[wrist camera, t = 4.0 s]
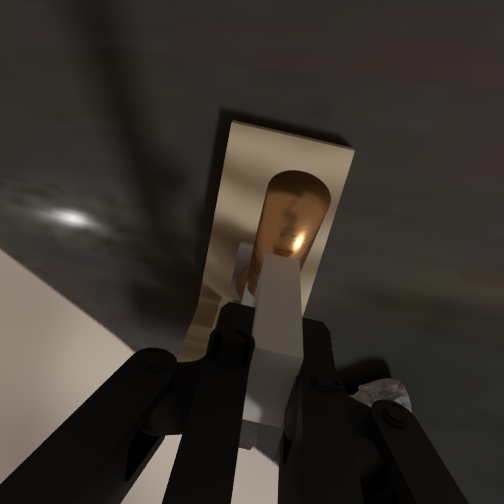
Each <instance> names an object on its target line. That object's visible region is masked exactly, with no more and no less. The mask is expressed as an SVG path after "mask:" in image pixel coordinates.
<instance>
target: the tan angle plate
mask: <svg viewBox="0 0 504 504" xmlns="http://www.w3.org/2000/svg"><path fill="white" fill-rule="evenodd" d="M354 152H355V150H354V149H353V148H351V147H347V146H343V145H339V144H334V143H330V142H326V141H322V140H317V139H313V138H309V137H304V136H300V135H296V134H292V133H287V132H283V131H279V130H274V129H270V128H266V127H262V126H257V125H253V124H249V123H245V122H240V121H236V120H233V121H232V123H231V128H230V134H229V139H228V145H227V150H226V156H225V161H224V166H223V172H222V177H221V183H220V188H219V194H218V199H217V204H216V210H215V215H214V221H213V226H212V232H211V237H210V243H209V248H208V253H207V259H206V264H205V270H204V275H203V281H202V286H201V291H200V297H199V302H198V307H197V310H196V312H195V315H194V317H193V320H192V322H191V325H190V327H189V330H188V332H187V335H186V337H185V340H184V342H183V345H182V347H181V350H180V352H179V355H178V357H177V362H190V361H195V360H198V359H200V358H202V357H204V356H205V355H206V352H207V347H208V342H209V337H210V333H211V332H212V331H213V329H215V328H216V325H217V321H218V318H219V314H220V311H221V308H222V307H223V306H224V305H225V304H227V303H228V302H233V299H234V300H239V301H242V298H243V294H244V290H245V286H246V275H247V270H248V266H249V262H250V258H251V254H252V249H253V245H254V241H255V237H256V233H257V228H258V224H259V220H260V216H261V212H262V207H263V203H264V199H265V195H266V191H267V187H268V183H269V181H270V180H271V179H272V177H274V176H275V175H276V174H278V173H280V172H283V171H287V170H299V171H304V172H307V173H310V174H312V175H314V176H316V177H318V178H319V179H320V180H321V181H322V182H324V184H325V185H326V186H327V188H328V189H329V191H330V194H331V204H330V206H329V209H328V211H327V213H326V215H325V218H324V220H323V222H322V225H321V227H320V229H319V231H318V234H317V236H316V238H315V240H314V243H313V245H312V247H311V250H310V252H309V254H308V256H307V259H306V261H305V263H304V265H303V268H302V270H301V272H300V282H301V307H302V317H303V314H304V311H305V307H306V304H307V301H308V298H309V295H310V292H311V288H312V285H313V282H314V279H315V276H316V272H317V269H318V266H319V263H320V260H321V257H322V253H323V250H324V247H325V244H326V241H327V238H328V234H329V231H330V228H331V225H332V222H333V219H334V215H335V212H336V209H337V206H338V203H339V200H340V196H341V193H342V190H343V187H344V184H345V180H346V177H347V174H348V171H349V168H350V165H351V161H352V158H353V155H354Z"/></svg>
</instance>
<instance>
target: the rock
mask: <svg viewBox="0 0 504 504" xmlns="http://www.w3.org/2000/svg"><path fill="white" fill-rule="evenodd" d="M358 389H359V391H358V392H357V393H355V394H354V395H350V396H351V397H352V398H354V399H356V400H358V401H360V402H362V403H364V404H366V405H368V406H370V407H371V406H372V404H373V403H374V402H375V401H377V400H381V399H387V400H392V401H395V402H397V403H399V404H401V405H403V406H404V407H405V408H407V409H408V410H409V411H410V412H411V413H412V410H411V404H410V400H409V396H408V394H407V391H406V389H405V386H404V385H403V384H401V383H400V381H399V380H393V379H390V378H386V379H380V380H375V381H372V382H370V383H367V384H363V385H360V386H359V387H358Z"/></svg>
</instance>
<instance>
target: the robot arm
mask: <svg viewBox="0 0 504 504" xmlns="http://www.w3.org/2000/svg"><path fill="white" fill-rule="evenodd" d="M242 419H245V420H249V421H254V422H258V423H262V424H267V425H271V426H275V427H280V428H281V425H282V422H283V419H284V430H283V433H282V436H281V439H280V442H279V445H278V448H277V451H276V454H275V458H274V460H278V458H279V480H278V481H279V482H278V504H469V503H468V502H467V500H466V499H465V497H464V495H463V494H462V492H461V490H460V489H459V487H458V486H457V484H456V482H455V481H454V479H453V477H452V476H451V474H450V473H449V471H448V469H447V468H446V466H445V465H444V463H443V461H442V460H441V458H440V456H439V455H438V453H437V452H436V450H435V448H434V447H433V445H432V443H431V442H430V440H429V439H428V437H427V435H426V434H425V432H424V431H423V429H422V427H421V426H420V424H419V422H418V421H417V419H416V418H415V416H414V415H413V414H412V413H411V412H410V411H409V410H408V409H407V408H405V407H404V406H403V405H401V404H399V403H397V402H395V401H392V400H387V399H381V400H377V401H375V402H374V403H373V404H372V406H371V407H370V406H368V405H366V404H364V403H362V402H360V401H358V400H356V399H354V398H352V397H351V396H350V395H348V394H347V393H346V390H345V387H344V384H343V382H342V381H341V380H340V379H339V378H338V377H337V376H336V372H335V365H334V358H333V351H332V344H331V337H330V331H329V330H328V329H327V327H326V326H325V324H324V323H323V322H320V321H316V320H311V319H307V318H303V317H302V307H301V282H300V260H296V259H292V258H287V257H283V256H279V255H274V254H270V253H266V252H265V256H264V260H263V264H262V268H261V272H260V276H259V280H258V284H257V288H256V292H255V296H254V300H253V304H252V307H251V306H246V305H242V304H238V303H233V302H228V303H227V304H225V305H224V306H223V307H222V308H221V311H220V314H219V318H218V321H217V325H216V328H215V329H213V331H212V332H211V333H210V337H209V342H208V347H207V352H206V355H205V356H204V357H202V358H200V359H198V360H195V361H190V362H177V359H176V358H175V356H174V355H173V354H172V353H170V352H169V351H167V350H164V349H160V348H145V349H142V350H139V351H138V352H136V353H134V354H133V355H132V356H131V357H130V358H129V359H128V360H127V361H126V362H125V363H124V364H123V365H122V366H121V367H120V368H119V369H118V370H117V371H116V372H115V373H114V374H113V375H112V376H111V377H110V378H109V379H107V380H106V382H104V383H103V384H102V385H101V386H100V387H99V388H98V389H97V390H96V391H95V392H94V393H93V394H92V395H91V396H90V397H89V398H88V399H87V400H86V401H85V402H84V403H83V404H82V405H81V406H80V407H79V408H78V409H77V410H76V411H75V412H74V413H73V414H72V415H71V416H70V417H69V418H68V419H67V420H66V421H64V423H62V424H61V426H59V427H58V429H56V430H55V431H54V432H53V433H52V434H51V435H50V436H49V437H48V438H47V439H46V440H45V441H44V442H43V443H42V444H41V445H40V446H39V447H38V448H37V449H36V450H35V451H34V452H33V453H32V454H31V455H30V456H29V457H28V458H27V459H26V460H25V461H24V462H23V463H22V464H20V466H18V468H16V469H15V471H13V472H12V473H11V474H10V475H9V476H8V477H7V478H6V479H5V480H4V481H3V482H2V483H1V484H0V504H120V503H121V502H122V500H123V499H124V497H125V496H126V494H127V493H128V492H129V490H130V489H131V487H132V486H133V484H134V483H135V481H136V480H137V478H138V477H139V476H140V474H141V473H142V471H143V469H144V468H145V467H146V465H147V463H148V462H149V461H150V459H151V458H152V456H153V455H154V453H155V452H156V451H157V449H158V448H159V446H160V445H161V443H162V442H163V440H164V438H165V435H179V434H182V437H181V441H180V444H179V447H178V451H177V454H176V458H175V461H174V464H173V468H172V471H171V474H170V478H169V481H168V485H167V488H166V491H165V495H164V498H163V501H162V504H231V498H232V491H233V483H234V475H235V469H236V462H237V454H238V447H239V440H240V433H241V426H242Z"/></svg>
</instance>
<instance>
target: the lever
mask: <svg viewBox="0 0 504 504" xmlns="http://www.w3.org/2000/svg"><path fill="white" fill-rule="evenodd" d="M330 204H331V194H330V191H329V189H328V188H327V186H326V185H325V184H324V182H322V181H321V180H320V179H319V178H318V177H316V176H314V175H312V174H310V173H307V172H304V171H299V170H287V171H283V172H280V173H278V174H276V175H275V176H274V177H272V179H271V180H270V181H269V183H268V187H267V191H266V195H265V199H264V203H263V207H262V212H261V216H260V220H259V224H258V228H257V233H256V237H255V241H254V245H253V249H252V254H251V258H250V262H249V266H248V270H247V275H246V286H245V290H244V294H243V298H242V301H239V300H234V299H233V303H238V304H242V305H246V306H251V307H252V304H253V300H254V296H255V292H256V288H257V284H258V280H259V276H260V272H261V268H262V264H263V260H264V256H265V252H266V253H270V254H274V255H279V256H283V257H287V258H292V259H296V260H300V272H301V270H302V268H303V265H304V263H305V261H306V259H307V256H308V254H309V252H310V250H311V247H312V245H313V243H314V240H315V238H316V236H317V234H318V231H319V229H320V227H321V225H322V222H323V220H324V218H325V215H326V213H327V211H328V209H329V206H330ZM259 429H260V423H258V422H254V421H249V420H245V419H242V426H241V433H240V440H239V447H238V448H243V449H247V450H250V449H251V448H252V447H253V446H254V444H255V443H256V442H257V440H258V435H259Z"/></svg>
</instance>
